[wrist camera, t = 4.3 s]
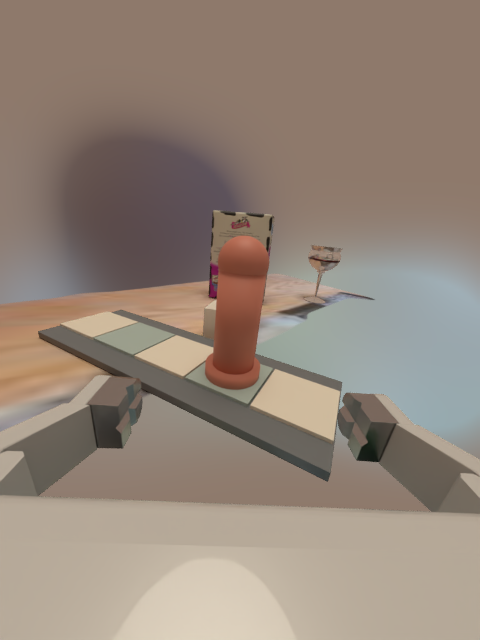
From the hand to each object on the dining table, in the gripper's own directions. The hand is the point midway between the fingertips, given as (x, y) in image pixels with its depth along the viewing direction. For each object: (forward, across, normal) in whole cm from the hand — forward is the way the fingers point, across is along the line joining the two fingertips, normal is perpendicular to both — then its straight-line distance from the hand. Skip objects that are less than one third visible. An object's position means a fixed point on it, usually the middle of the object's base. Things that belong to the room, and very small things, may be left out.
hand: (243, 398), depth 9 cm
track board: (+13, +5, +6) cm, 15 cm away
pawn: (+10, 0, +5) cm, 11 cm away
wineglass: (+44, -19, +7) cm, 48 cm away
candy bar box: (+39, -1, +7) cm, 40 cm away
